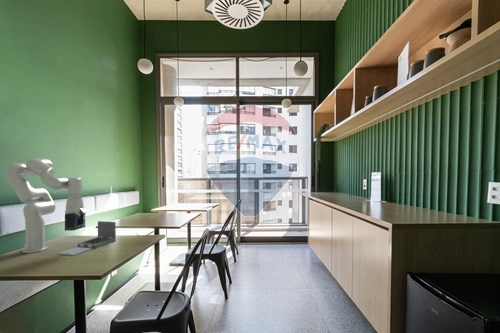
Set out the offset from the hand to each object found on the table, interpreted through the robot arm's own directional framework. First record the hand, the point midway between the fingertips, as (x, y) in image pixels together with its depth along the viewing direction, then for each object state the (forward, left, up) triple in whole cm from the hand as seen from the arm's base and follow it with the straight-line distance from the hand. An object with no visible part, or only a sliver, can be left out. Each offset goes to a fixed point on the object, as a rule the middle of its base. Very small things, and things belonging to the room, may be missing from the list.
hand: (75, 224), depth 158 cm
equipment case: (0, +15, -17) cm, 23 cm away
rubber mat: (0, 0, -17) cm, 17 cm away
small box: (0, 0, -3) cm, 3 cm away
